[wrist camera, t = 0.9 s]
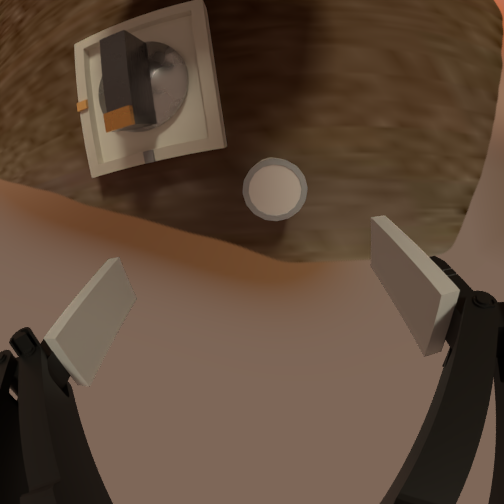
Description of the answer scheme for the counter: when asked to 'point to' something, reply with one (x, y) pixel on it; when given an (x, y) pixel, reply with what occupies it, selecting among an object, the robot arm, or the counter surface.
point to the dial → (139, 83)
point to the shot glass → (274, 189)
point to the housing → (183, 121)
